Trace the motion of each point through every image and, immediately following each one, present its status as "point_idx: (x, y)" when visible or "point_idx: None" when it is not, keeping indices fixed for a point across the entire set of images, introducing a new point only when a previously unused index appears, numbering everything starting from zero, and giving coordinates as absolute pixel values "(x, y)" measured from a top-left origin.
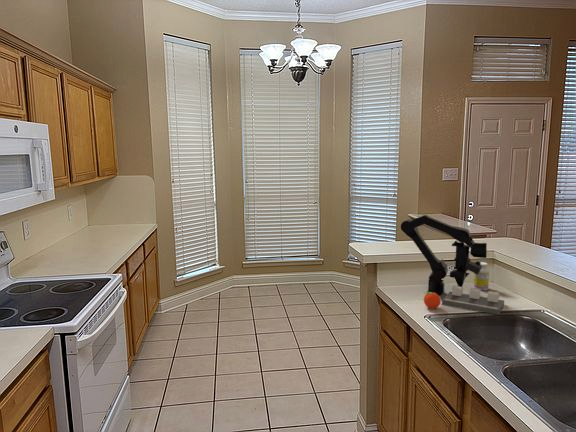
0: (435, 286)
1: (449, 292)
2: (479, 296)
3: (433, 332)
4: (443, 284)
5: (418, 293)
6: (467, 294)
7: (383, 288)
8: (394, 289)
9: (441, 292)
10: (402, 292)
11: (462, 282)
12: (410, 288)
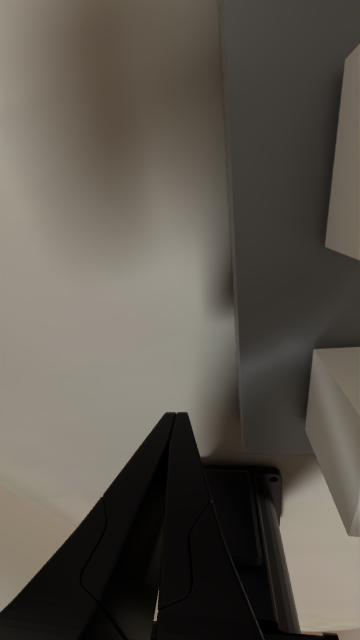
0: (286, 568)
1: (280, 453)
2: None
3: None
4: (239, 558)
5: (310, 546)
6: (242, 307)
7: (314, 628)
8: (303, 607)
9: (250, 480)
10: (336, 588)
11: (213, 510)
12: None
